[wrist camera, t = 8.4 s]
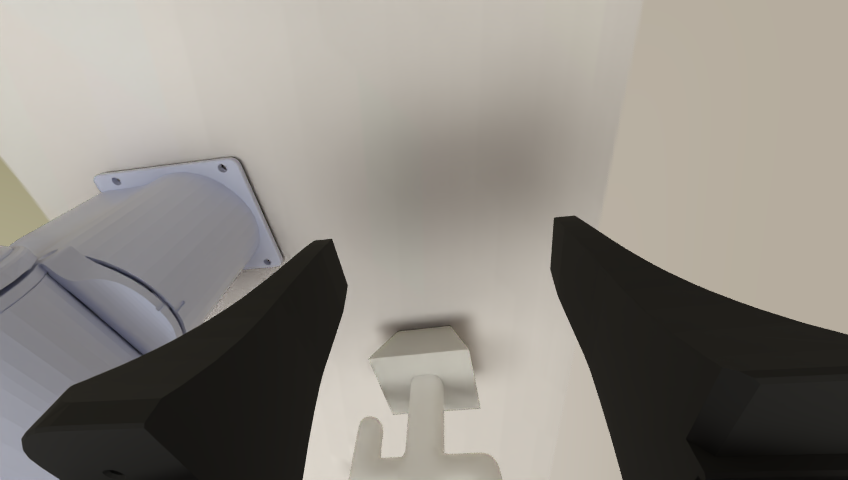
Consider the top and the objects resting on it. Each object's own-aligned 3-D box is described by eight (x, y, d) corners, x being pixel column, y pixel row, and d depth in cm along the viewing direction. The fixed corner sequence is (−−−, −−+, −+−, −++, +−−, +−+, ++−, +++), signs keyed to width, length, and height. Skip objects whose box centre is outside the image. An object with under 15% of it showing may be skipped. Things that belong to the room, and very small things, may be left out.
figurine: (363, 322, 29) (303, 568, 16) (480, 309, 27) (512, 566, 15) (385, 377, 33) (351, 608, 20) (489, 367, 31) (520, 610, 19)
